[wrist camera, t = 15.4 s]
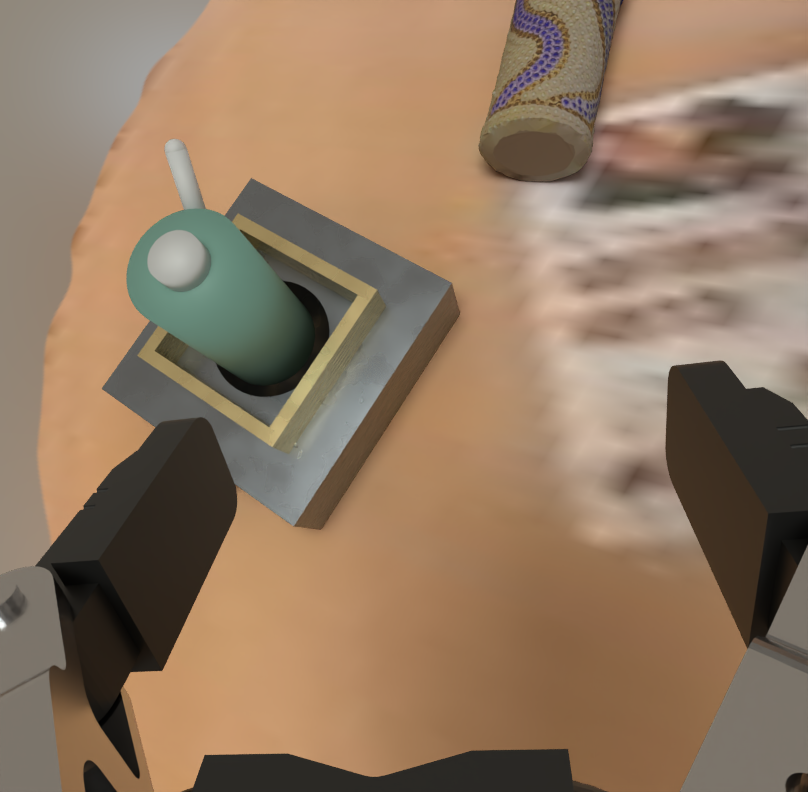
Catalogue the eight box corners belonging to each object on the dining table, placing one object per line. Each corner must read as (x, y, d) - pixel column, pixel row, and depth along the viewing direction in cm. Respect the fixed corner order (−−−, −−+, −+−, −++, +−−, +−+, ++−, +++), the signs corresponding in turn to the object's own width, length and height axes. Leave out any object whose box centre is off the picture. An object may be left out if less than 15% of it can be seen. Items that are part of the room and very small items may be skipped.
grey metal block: (279, 216, 46) (234, 155, 39) (459, 313, 42) (447, 264, 35) (114, 453, 44) (35, 433, 37) (286, 583, 40) (234, 589, 32)
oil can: (315, 380, 37) (226, 302, 26) (221, 390, 38) (96, 318, 27) (314, 247, 39) (231, 123, 28) (225, 260, 40) (112, 144, 29)
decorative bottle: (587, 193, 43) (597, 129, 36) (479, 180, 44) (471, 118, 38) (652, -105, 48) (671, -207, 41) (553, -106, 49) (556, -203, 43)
